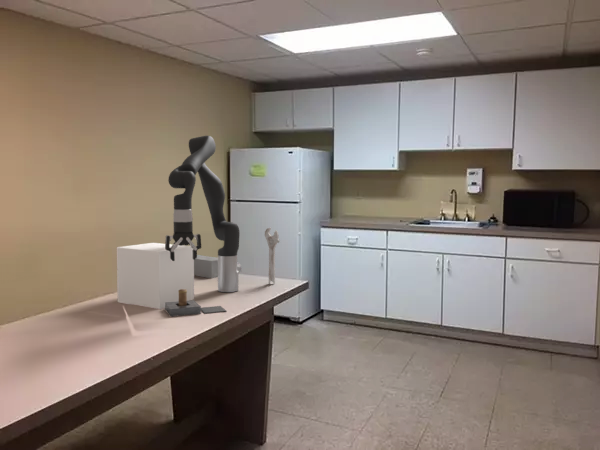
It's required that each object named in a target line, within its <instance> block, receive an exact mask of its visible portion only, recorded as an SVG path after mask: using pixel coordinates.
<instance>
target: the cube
mask: <svg viewBox="0 0 600 450" xmlns="http://www.w3.org/2000/svg"><path fill="white" fill-rule="evenodd" d="M172 245H173V243H172V244H171V243H170V245H169V248H171V247H172ZM174 256H175V261H172V260H171V259H170V251H167V250H166V249H165V243H159V242H148V243H140V244H132V245H123V246H117V247H116V278H117V281H116V283H117V284H116V285H117V286H116V288H117V289H116V290H117V291H116V292H117V303H121V304H126V305H133V306H134V305H135V306H141V307H146V308H151V309H157V310H161V309H165V302H177V301H179V290H180V289H186V290H187V301H190V300H195V275H194V260H193V248H192V247H191V246H190V245H182V246H180V245H178V246H177V247H176V249H175V250H174Z"/></svg>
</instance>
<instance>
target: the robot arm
mask: <svg viewBox="0 0 600 450" xmlns="http://www.w3.org/2000/svg"><path fill="white" fill-rule="evenodd" d="M216 147H217V146H216V142H215V139H214V138H213V137H212V136H211V135H202V136H197V137H192V138H190V139H189V141H188V148H189V149H188V150H189V153H190V155H189V156H187V157H186V158H185V159H184V160H183V162H182V163H181V165H179V166H178V167H176V168H174V169H172V171H171V172H170V174H169V175H168V180H167V181H168V184H169V185H170V187H171V188H172V189H184V191H183V193H180V194H179V193H178V194H176V195H174V196H173V214H172V215H173V216H172V217H173V219H172V220H173V234H172V235H168V234H167V235H165V240H164V241H165V243H164V244H165V249H166V250H167V251H170V259H171V260H172V261H175V256H174V250H175V249H176V247H177V246H178V245H180V246H182V245H184V246H191V247H192V248H193V260H195V259H196V258H197V255H198V251H199V250H200V249H202V236H201V234H200V233H196V234H194V233H193V231H194V230H193V220H194V219H193V210H192V205H193V204H192V199H193V193H194V189H195V186H196V182H197V179H196V178H197V177H196V175H197V173H198V177H199V180H200V182H201V183H200V184H201V188H202V190H203V195H204V197H205V200H206V203H207V204H206V205H207V207H208V210H209V214H210V218H211V224H212V227H213V232H214V235H215V238H217V240H220V241H223V246H222V247H220V248H219V249H218V250H217V258H218V277H217V291H218V292H220V293H233V292H238V291H239V272H238V271H237V263H238V251H239V248H240V227H239V226H238V225H239V224H237V223H236V222H232V221H227V220H226V218H225V214H224V205H225V200H226V194H225V193H226V192H225V189H224V186H223V182H222V180H221V179H220V177H219V176H217V175H216V174H215V173H214V172H213V171H212V170H211V169H210V168H209V167H208V166H207V164H206V162H207V161H208V160H209V159H210V157H212V156H213V155H215V152H216ZM172 239H173V241H174V242H173V243H172V244H173V245H172V247H171V248H169V245H170V244H171V241H172ZM193 240H196V245H195V244H194V242H193Z"/></svg>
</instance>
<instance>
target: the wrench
mask: <svg viewBox="0 0 600 450" xmlns="http://www.w3.org/2000/svg"><path fill="white" fill-rule="evenodd" d="M271 228H272V227H268V228H266V229H265V231H264V237H265V241H266V242H267V246H268V285H271V282H272V283H273V285H275V284H276V247H277V244H279V243H280V241H281V240H280V239H279V238H280V237H279V232H278V230H277V229H276V230H275V231H274V232H273V235H272V234H271V233H270V232H271Z"/></svg>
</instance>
